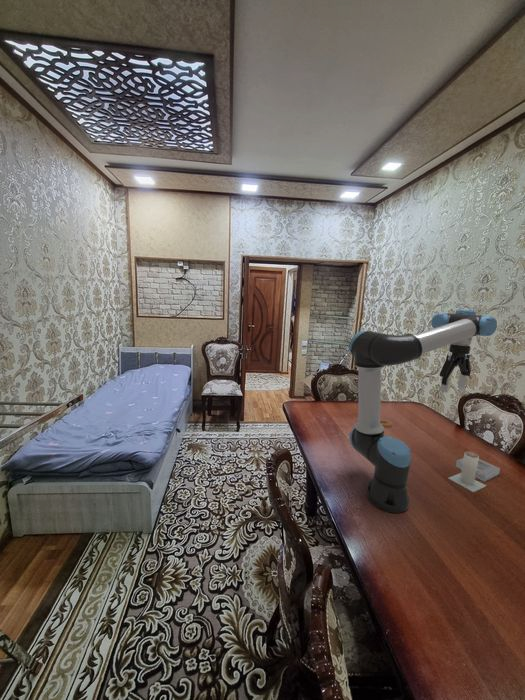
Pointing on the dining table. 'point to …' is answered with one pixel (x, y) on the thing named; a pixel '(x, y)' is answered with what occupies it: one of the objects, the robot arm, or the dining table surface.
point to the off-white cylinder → (469, 468)
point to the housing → (486, 473)
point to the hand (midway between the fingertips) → (452, 390)
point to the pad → (472, 488)
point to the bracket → (385, 423)
